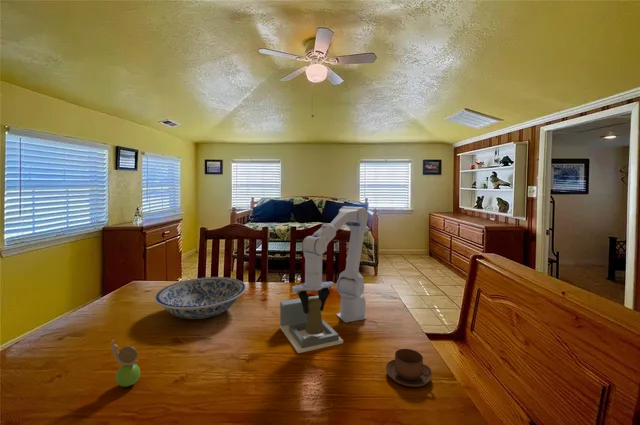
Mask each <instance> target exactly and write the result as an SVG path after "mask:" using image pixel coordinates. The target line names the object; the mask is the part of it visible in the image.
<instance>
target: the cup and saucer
mask: <svg viewBox="0 0 640 425" xmlns="http://www.w3.org/2000/svg"><path fill="white" fill-rule="evenodd" d="M385 370H386V373H387V375H388V377H389V378H390V379H391V380H393V381H394V382H396V383H397V384H400V385H403V386H405V387H412V388H417V387H422V386H425V385H427V384H428V383H430V382H431V380H432V369H431V368H430V366H428V365H426V364H424V357H423V355H422V354H421V353H420V352H418V351H417V350H413V349H412V348H411V349H410V348H401V349H397V350H396V351H395V352H394V359H392V360H390V361H388V362H387V363H386V366H385Z"/></svg>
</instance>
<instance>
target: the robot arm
mask: <svg viewBox="0 0 640 425" xmlns="http://www.w3.org/2000/svg"><path fill="white" fill-rule="evenodd" d="M368 219H369V213H368V210H367V208H365V207H364V206H347V205H343V206H342V207H341V208H339V209H338V214H337V215H336V216H335V217H334V218H333V220H332V221H331V222H330V223H323V224H321V227H320V228H319V229H318V230H316V231H314V232H313V234H312V235H308V236H306V237H304V239H303V240H302V244H301V250H302V252H303V257H304V259H305V260H304V261H305V262H304V283H301V284H298V285H293V286H291V290H292V291H291V293H292V294H294V295H295V294H297V295H298V297H299V298H300V300H301V303H302V306H303V312H304V313H305V314H307V313H308V298H309V297H310V295H309V294H308V292H312V291H317V293H318V294H317V296H319V299H320V300H321V302H322V305H321V307H320V310H321V312H323V311H324V308H325V304H326V301H327V299H328V298H329V296H330V293H331V291H330V289H335V283H334V282H333V281H323V254H325V253H326V250H327V247H328V245H329V243H330V242H331V241H332V240H333V239H334V238H335V237H336V235H337V231H339V230H340V229H341V228H342V227H343V226H345V227H347V228H349V230H350V235H349V242H348V243H349V244H348V249H347V250H348V251H347V255H346V256H347V257H346V262H345V269H344V270H343V271H341V272H340V273H339V276H338V279H337V281H336V291H337V292H338V293H339V294H338V295H339V296H340V312H338V313H336V316H337V317H338V318H340V320H342V321H343V322H344V323H350V322H357V321H360V320H366V319H367V317H366V305H367V304H366V298H365V296H364V295H363V294H364V291H365V284H364V280H365V277H363V275H362V274H361V272H360V269H359V268H360V263H361V257H362V249H363V243H364V235H365V230H366V229H367V227H368Z"/></svg>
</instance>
